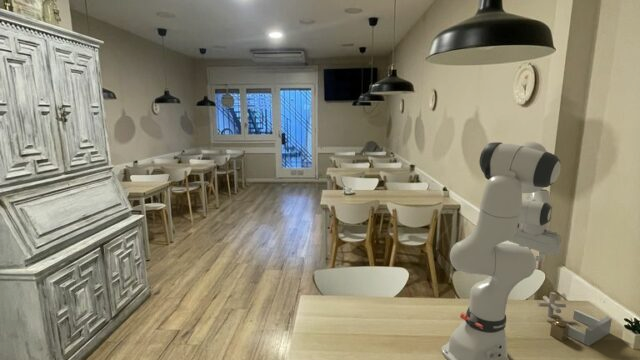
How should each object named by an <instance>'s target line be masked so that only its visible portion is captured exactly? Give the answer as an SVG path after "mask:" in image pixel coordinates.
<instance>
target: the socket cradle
mask: <svg viewBox="0 0 640 360" xmlns="http://www.w3.org/2000/svg"><path fill="white" fill-rule="evenodd" d="M573 310H574V309H573ZM572 319H574V320H576V321H578V322H581V323H582V324H585V325H586V326H588V327H586V328H585V331H583V330H580V329H579V328H577V327H575V326H573V325H570V324H568V323H566V324H567V325H569V332H568V337H570V338H572V339H573V340H576V341H578V342H580V343H582V344H584V345H585V346H588V347H589V346H591V345H592V344H595V343H596V342H597V341H599V340H601V339H603V338H604V337H605V336H607V335H609V334H610V332H611V327H612V326H611V325H612V320H613V318H612V317H610V316H605V317H603V318H602V319H599V318H597V317H594V316H592V315H590V314H588V313H585V312H583V311H581V310H578V309H575V310H574V311H573V317H572ZM556 320H559V319H558V318H556Z"/></svg>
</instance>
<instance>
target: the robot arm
mask: <svg viewBox="0 0 640 360" xmlns="http://www.w3.org/2000/svg"><path fill="white" fill-rule="evenodd" d="M478 161H479V163H478V164H479V167H480V171H481V172H482V173H483V175H484V178H485V179H487V182H486V185H485V187H484V190H483V193H482V198H481V202H480V207H479V213H478V218H477V222H476V224H475V225H476V226H475V228H474V229H473V230H472V232H471V233H470V234H469V235H468V236H467V237H465V238H463V239H461V240H460V241H457V242H456V243H454V244H453V246H452V247H451V250H450V252H449V260H450V263H451V264H452V266H453V268H454V269H455V270H456V271H458V272H462V273H464V274H469V275H472V276H473V275H476V276H487V278H484V280H480V281H478V282H476V283H475V284H473V286H472V287H471V289H470V294H469V306H468V308H467V310H466V313H464V312H461V313H460V314H459V317H460V319H462V320H463V321H462V322H461V323H460V324H459V325H458V327H456V329H455V330H453V332H452V334H450V338H449V341H448V342H446V343H445V344H444V345H443V346H441V348H440V351H441V353H442V355H443V356H444V358H445V359H447V360H510V359H509V357H508V338H507V335H506V330H505V328H506V324H507V315H506V308H507V303H508V299H509V297H510V294H511V292H512V291H513V289H514V287H516V286H517V285H518V284H519V283H520V282H522V281H523V280H525V279H527V278H530V277H531V276H532V275H533V274H534V272H535V271H536V267H537V262H542V260H543V259H542V258H544V256H545V255H549V256H552V257H556V256H558V255H559V254H561V242H562V236H560V234H559V233H558V232H555V231H552V230H548V224H549V222H551V219H552V210H553V207H552V206H551V205H550V203H551V199H550V196H551V195H550V191H549V190H548V189H544V188H548V187H551V186H552V185H553V184H554V183H555V182H556V181H557V179H558V178H559V176H560V173H561V170H562V167H561V159H560V158H559V157H558V155H556V154H553V153H551V152H548V151H547V149H546V148H545V146H544V145H542V144H541V143H538V142H533V141H531V142H530V141H529V142H524V143H521V144H512V143H504V142H498V141H497V142H495V141H494V142H489V143H488V144H486V145H485V146H484V148H483V149H482V151H481V153H480V155H479V160H478ZM523 194H525V198H523ZM507 241H508V242H510V243H506V242H507ZM532 250H533V251H537V252H538V253H539V255H536V256H535V254H534V253H533V252H532Z"/></svg>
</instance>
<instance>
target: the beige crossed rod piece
mask: <svg viewBox="0 0 640 360" xmlns="http://www.w3.org/2000/svg"><path fill="white" fill-rule="evenodd" d="M542 300H544V301H536V303H537V306H538V307H545V308H546V307H547V308H548V309H547V315H546V316H547V317H550V318H553V316H554V311H555V313H557V314H561V313H562V310H561V308H567V305H566V303H565V302H557V301H556V292H554V291H550V293H549V297H548V296H547V295H544V296H542Z"/></svg>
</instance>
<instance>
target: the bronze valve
mask: <svg viewBox="0 0 640 360" xmlns="http://www.w3.org/2000/svg"><path fill="white" fill-rule="evenodd" d="M550 324H551V326H550V332H549V335H550V337H552V338H555V339H556V340H558V341H560V342H563V341H565V340H567V339H568V337H569V336H568V332H569V325H570V324H569V325H567V324H568V323H567V322H566V321H564V320H561V319H558V320H557V319H555V320H554V321H553V322H551V323H550Z"/></svg>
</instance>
